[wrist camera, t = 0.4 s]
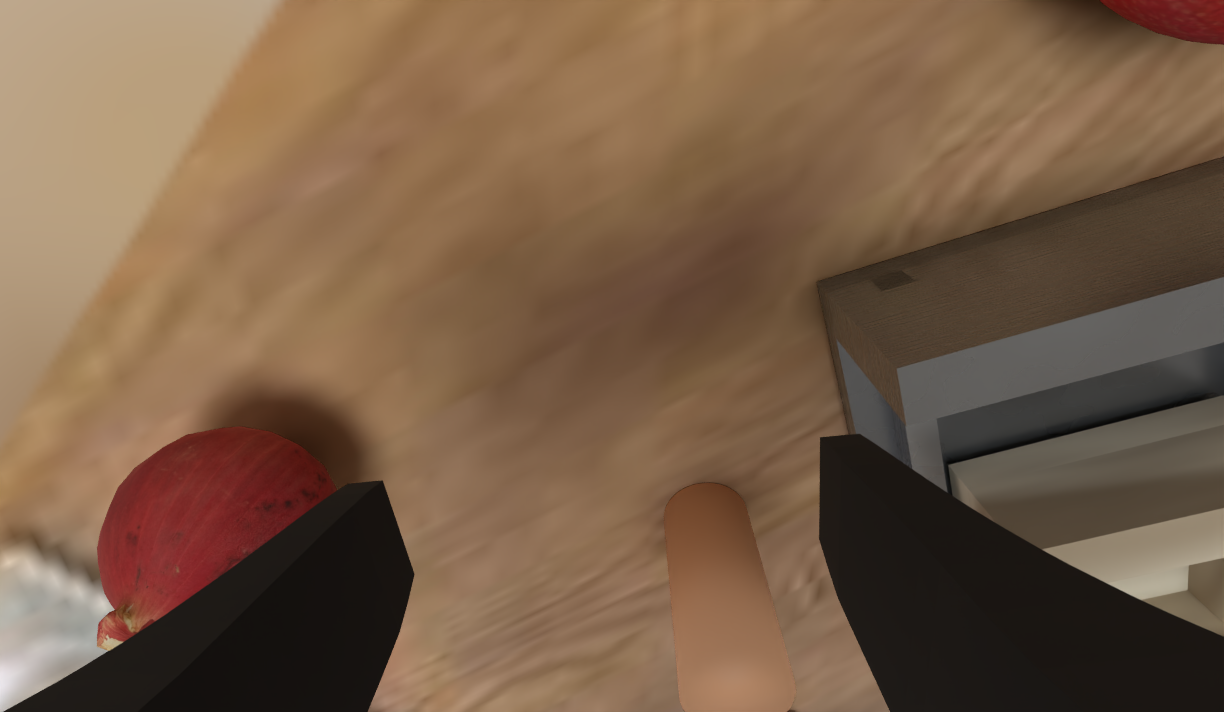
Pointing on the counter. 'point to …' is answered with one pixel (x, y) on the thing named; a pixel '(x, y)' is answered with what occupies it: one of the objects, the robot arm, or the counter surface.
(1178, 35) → the apple
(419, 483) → the counter surface
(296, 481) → the onion
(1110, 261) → the slide base
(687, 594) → the dowel
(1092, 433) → the sliding block
